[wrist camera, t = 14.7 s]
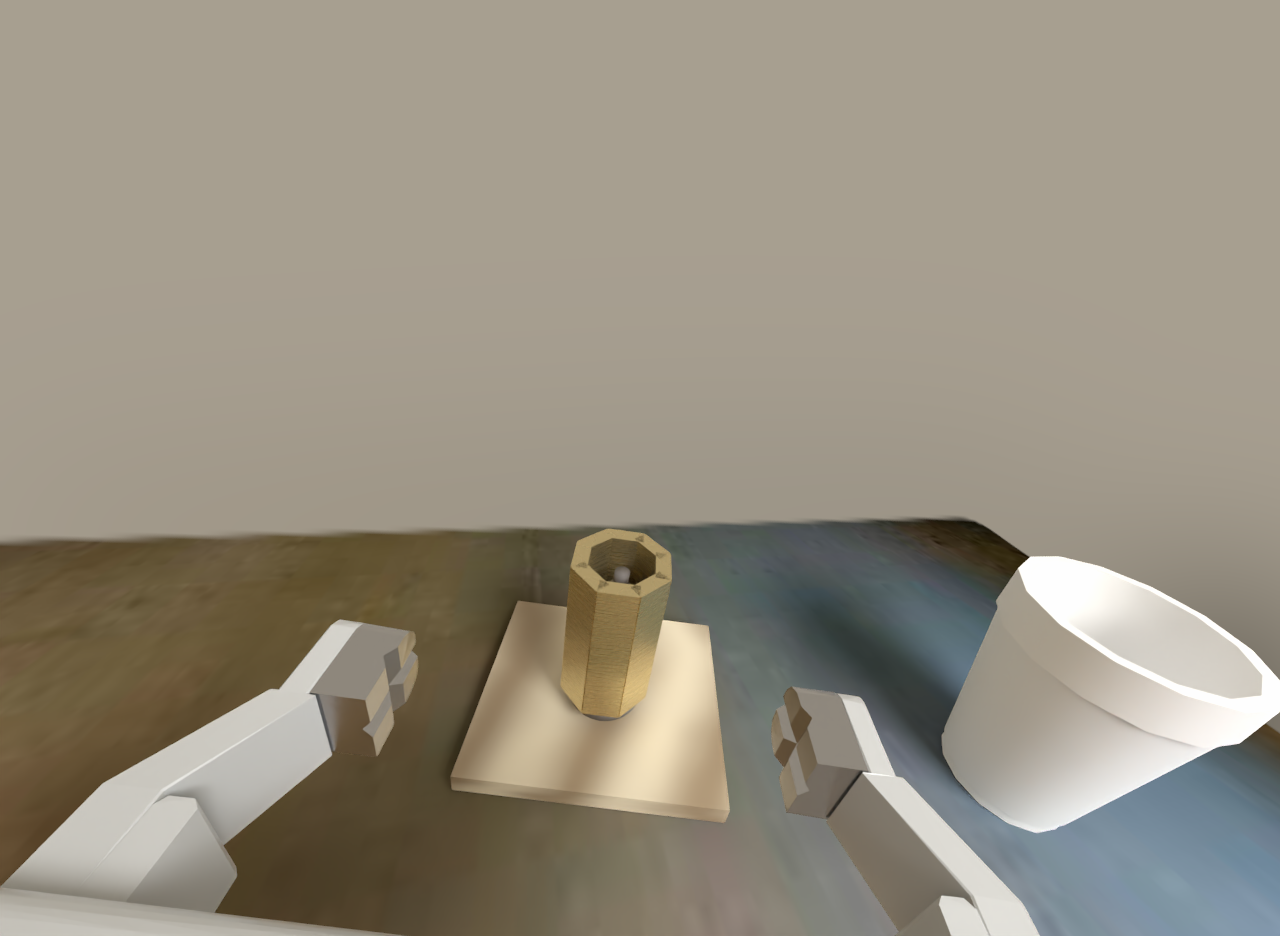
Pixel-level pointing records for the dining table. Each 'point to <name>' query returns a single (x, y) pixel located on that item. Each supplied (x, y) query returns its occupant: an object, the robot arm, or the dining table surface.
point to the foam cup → (1095, 694)
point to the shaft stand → (598, 727)
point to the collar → (613, 621)
